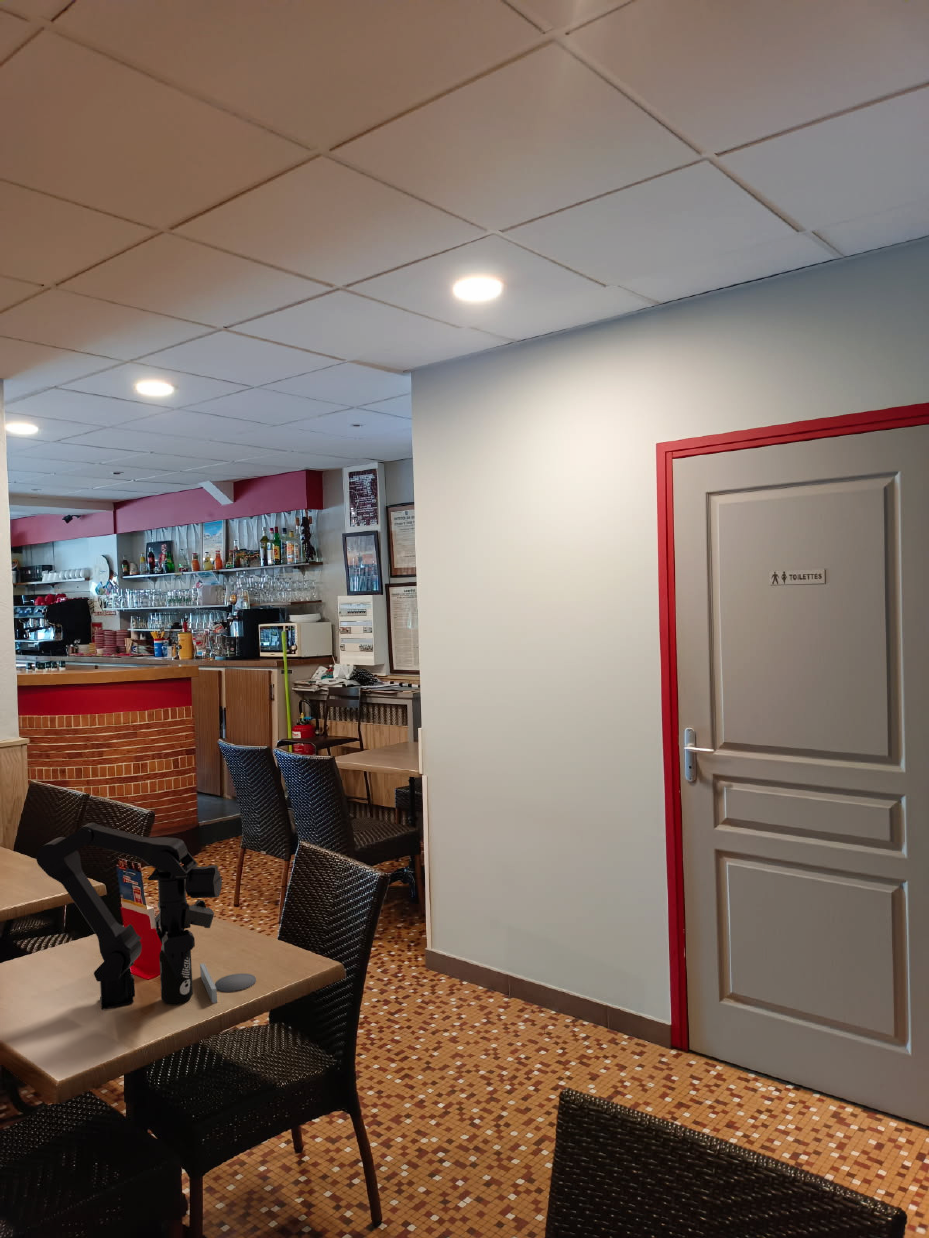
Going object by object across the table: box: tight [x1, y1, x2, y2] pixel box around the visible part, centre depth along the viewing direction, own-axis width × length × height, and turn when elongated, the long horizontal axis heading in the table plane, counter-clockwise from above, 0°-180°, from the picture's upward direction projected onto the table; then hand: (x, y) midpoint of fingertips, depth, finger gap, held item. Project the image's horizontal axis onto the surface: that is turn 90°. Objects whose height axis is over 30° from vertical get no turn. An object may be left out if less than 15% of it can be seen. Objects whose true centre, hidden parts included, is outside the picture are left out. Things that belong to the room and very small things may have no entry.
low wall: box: [199, 962, 218, 1004], centre depth 202 cm, size 1×16×3 cm, turn 25°
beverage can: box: [158, 944, 194, 1006], centre depth 197 cm, size 7×7×12 cm
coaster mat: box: [214, 972, 257, 993], centre depth 204 cm, size 9×9×1 cm
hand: (175, 969), depth 197 cm, fingers open, 9 cm apart
